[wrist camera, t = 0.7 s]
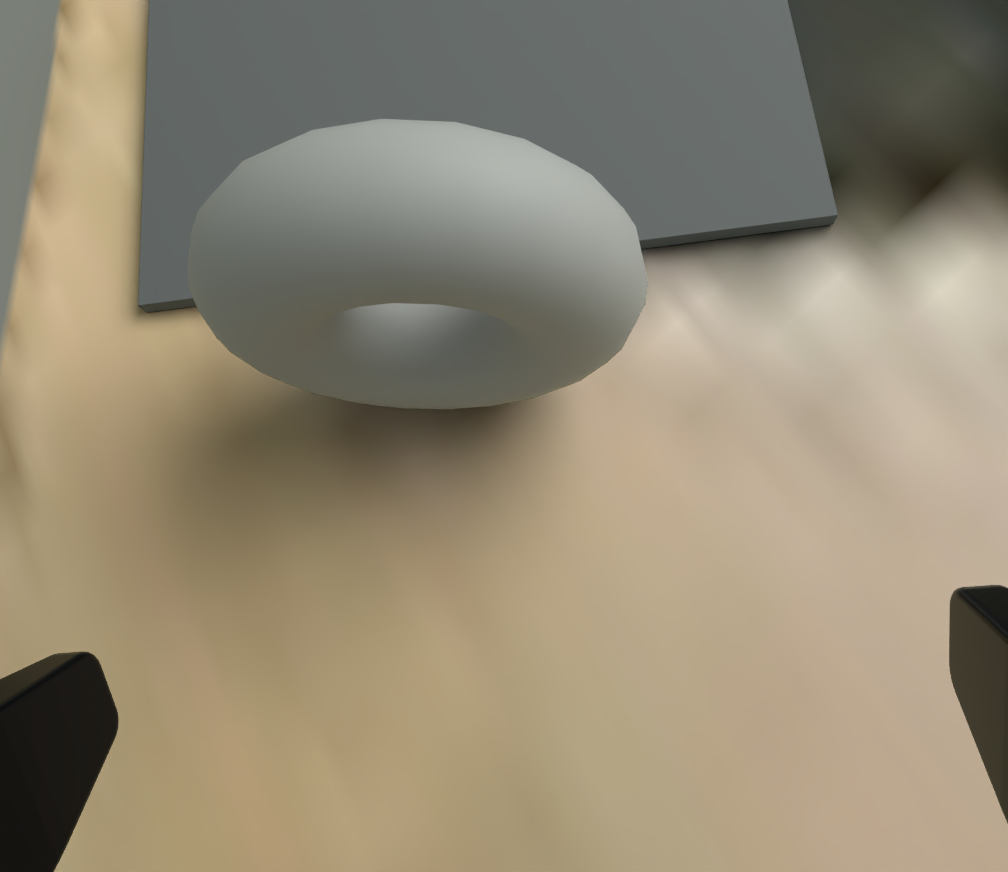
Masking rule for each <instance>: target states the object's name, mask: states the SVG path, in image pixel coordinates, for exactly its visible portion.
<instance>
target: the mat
mask: <svg viewBox="0 0 1008 872" xmlns="http://www.w3.org/2000/svg"><path fill="white" fill-rule="evenodd" d="M376 119H398V120H421V121H445V122H458V123H462V124H466V125H470V126H474V127H478V128H482V129H487V130H491V131H495V132H499V133H503V134H507V135H511V136H515V137H519V138H523V139H526V140H528V141H530V142H532V143H534V144H536V145H537V146H539V147H541V148H543V149H545V150H547V151H549V152H551V153H553V154H555V155H557V156H559V157H561V158H563V159H565V160H567V161H569V162H571V163H573V164H575V165H576V166H578V167H580V168H581V169H583V170H585V171H586V172H588V173H590V174H591V175H592V176H593V177H594V178H595V179H596V180H597V181H598V182H599V183H600V184H601V185H602V186H603V187H604V188H605V189H606V190H607V191H608V192H609V194H610V195H611V196H612V197H613V198H614V199H615V200H616V201H617V202H618V203H619V204H620V205H621V206H622V207H623V208H624V210H625V211H626V213H627V214H628V216H629V217H630V219H631V220H632V221H633V223H634V224H635V226H636V229H637V233H638V238H639V242H640V247H641V249H645V248H653V247H660V246H668V245H676V244H684V243H691V242H699V241H707V240H715V239H723V238H730V237H738V236H746V235H754V234H762V233H769V232H777V231H785V230H793V229H800V228H808V227H816V226H824V225H832V224H833V223H834V221H835V219H836V217H837V216H838V213H837V209H836V205H835V201H834V196H833V192H832V188H831V184H830V180H829V175H828V171H827V167H826V163H825V158H824V154H823V150H822V146H821V141H820V137H819V133H818V129H817V124H816V120H815V116H814V112H813V107H812V103H811V99H810V95H809V91H808V86H807V82H806V78H805V74H804V69H803V65H802V61H801V57H800V52H799V48H798V44H797V40H796V35H795V31H794V27H793V23H792V18H791V14H790V10H789V6H788V1H787V0H149V21H148V49H147V77H146V104H145V132H144V160H143V187H142V215H141V243H140V271H139V298H138V305H139V306H140V307H141V308H142V309H143V310H144V311H145V312H155V311H162V310H170V309H178V308H186V307H193V306H196V304H195V302H194V300H193V297H192V295H191V293H190V291H189V280H188V258H189V248H190V237H191V231H192V228H193V225H194V222H195V218H196V215H197V212H198V210H199V209H200V208H201V206H202V205H203V204H204V203H205V202H206V200H207V199H208V198H209V197H210V196H211V194H212V193H213V192H214V191H215V190H216V189H217V188H218V187H219V186H220V185H221V184H222V183H223V181H224V180H225V179H226V178H227V177H228V176H229V175H230V174H231V173H232V172H233V171H234V170H235V169H236V168H237V167H238V165H239V164H240V163H241V162H242V161H244V160H246V159H248V158H250V157H253V156H255V155H257V154H259V153H261V152H264V151H266V150H268V149H270V148H273V147H275V146H277V145H279V144H282V143H284V142H286V141H288V140H291V139H293V138H295V137H297V136H300V135H302V134H304V133H306V132H309V131H311V130H315V129H321V128H327V127H333V126H339V125H346V124H352V123H358V122H364V121H370V120H376Z"/></svg>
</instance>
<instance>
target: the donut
mask: <svg viewBox="0 0 1008 872" xmlns="http://www.w3.org/2000/svg"><path fill="white" fill-rule="evenodd" d="M188 280H189V291H190V293H191V295H192V297H193V300H194V302H195V304H196V306H197V308H198V311H199V312H200V314H201V315H202V317H203V318H204V320H205V321H206V323H207V324H208V326H209V327H210V329H211V330H212V332H213V333H214V335H215V336H216V338H217V339H218V340H219V341H220V342H221V343H222V344H223V345H224V346H225V347H226V348H227V349H228V350H229V351H230V352H231V353H232V354H234V355H235V356H237V357H238V358H240V359H242V360H243V361H245V362H246V363H248V364H249V365H251V366H252V367H254V368H255V369H257V370H258V371H260V372H262V373H264V374H266V375H268V376H270V377H273V378H275V379H277V380H280V381H282V382H285V383H288V384H290V385H293V386H295V387H298V388H301V389H303V390H306V391H309V392H311V393H314V394H319V395H323V396H328V397H332V398H336V399H341V400H345V401H350V402H354V403H361V404H370V405H378V406H387V407H395V408H412V409H458V408H472V407H485V406H495V405H500V404H505V403H510V402H516V401H521V400H526V399H531V398H535V397H537V396H540V395H543V394H546V393H548V392H551V391H554V390H557V389H560V388H562V387H565V386H568V385H570V384H573V383H576V382H578V381H581V380H582V379H584V378H585V377H587V376H588V375H590V374H591V373H592V372H594V371H595V370H597V369H598V368H600V367H601V366H603V365H604V364H606V363H607V362H608V361H609V360H610V359H611V358H612V357H614V356H615V355H616V354H617V353H618V352H619V351H620V350H621V349H622V347H623V346H624V344H625V342H626V340H627V338H628V336H629V334H630V332H631V331H632V329H633V327H634V325H635V323H636V321H637V319H638V317H639V315H640V313H641V311H642V309H643V307H644V305H645V301H646V293H647V286H648V280H647V275H646V270H645V266H644V261H643V256H642V252H641V247H640V242H639V238H638V233H637V229H636V226H635V224H634V223H633V221H632V220H631V219H630V217H629V216H628V214H627V213H626V211H625V210H624V208H623V207H622V206H621V205H620V204H619V203H618V202H617V201H616V200H615V199H614V198H613V197H612V196H611V195H610V194H609V192H608V191H607V190H606V189H605V188H604V187H603V186H602V185H601V184H600V183H599V182H598V181H597V180H596V179H595V178H594V177H593V176H592V175H591V174H590V173H588V172H586V171H585V170H583V169H581V168H580V167H578V166H576V165H575V164H573V163H571V162H569V161H567V160H565V159H563V158H561V157H559V156H557V155H555V154H553V153H551V152H549V151H547V150H545V149H543V148H541V147H539V146H537V145H536V144H534V143H532V142H530V141H528V140H526V139H523V138H519V137H515V136H511V135H507V134H503V133H499V132H495V131H491V130H487V129H482V128H478V127H474V126H470V125H466V124H462V123H458V122H445V121H421V120H398V119H376V120H370V121H364V122H358V123H352V124H346V125H339V126H333V127H327V128H321V129H315V130H311V131H309V132H306V133H304V134H302V135H300V136H297V137H295V138H293V139H291V140H288V141H286V142H284V143H282V144H279V145H277V146H275V147H273V148H270V149H268V150H266V151H264V152H261V153H259V154H257V155H255V156H253V157H250V158H248V159H246V160H244V161H242V162H241V163H240V164H239V165H238V167H237V168H236V169H235V170H234V171H233V172H232V173H231V174H230V175H229V176H228V177H227V178H226V179H225V180H224V181H223V183H222V184H221V185H220V186H219V187H218V188H217V189H216V190H215V191H214V192H213V193H212V194H211V196H210V197H209V198H208V199H207V200H206V202H205V203H204V204H203V205H202V206H201V208H200V209H199V210H198V212H197V215H196V218H195V222H194V225H193V228H192V231H191V237H190V248H189V258H188Z"/></svg>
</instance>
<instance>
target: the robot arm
mask: <svg viewBox="0 0 1008 872" xmlns="http://www.w3.org/2000/svg"><path fill="white" fill-rule="evenodd" d="M949 666H950V674H951V679H952V683H953V687H954V689H955V692H956V695H957V697H958V700H959V702H960V705H961V707H962V710H963V712H964V715H965V718H966V720H967V723H968V725H969V728H970V730H971V733H972V735H973V738H974V740H975V743H976V745H977V748H978V750H979V753H980V755H981V758H982V761H983V763H984V766H985V768H986V771H987V773H988V776H989V778H990V781H991V783H992V786H993V788H994V791H995V793H996V796H997V798H998V801H999V804H1000V806H1001V809H1002V811H1003V813H1004V816H1005V818H1006V820H1007V823H1008V588H1006V587H1004V586H1001V585H987V586H974V587H962V588H958V589H956V590H955V591H954V592H953V594H952V596H951V600H950V636H949ZM117 730H118V712H117V709H116V706H115V703H114V700H113V698H112V695H111V692H110V689H109V687H108V684H107V681H106V678H105V676H104V673H103V670H102V667H101V665H100V662H99V660H98V659H97V658H96V657H95V656H94V655H93V654H91V653H89V652H71V653H59V654H54V655H51V656H49V657H47V658H45V659H42V660H40V661H38V662H36V663H34V664H32V665H30V666H28V667H25V668H23V669H21V670H19V671H17V672H15V673H13V674H10V675H8V676H6V677H4V678H2V679H0V872H54V870H55V868H56V866H57V864H58V863H59V861H60V858H61V856H62V854H63V852H64V850H65V848H66V846H67V844H68V842H69V840H70V837H71V835H72V833H73V831H74V828H75V826H76V824H77V822H78V819H79V817H80V815H81V813H82V811H83V808H84V806H85V804H86V802H87V799H88V797H89V795H90V793H91V791H92V788H93V786H94V784H95V782H96V779H97V777H98V775H99V773H100V771H101V768H102V766H103V764H104V762H105V759H106V757H107V755H108V753H109V750H110V748H111V746H112V744H113V742H114V739H115V737H116V734H117Z"/></svg>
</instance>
